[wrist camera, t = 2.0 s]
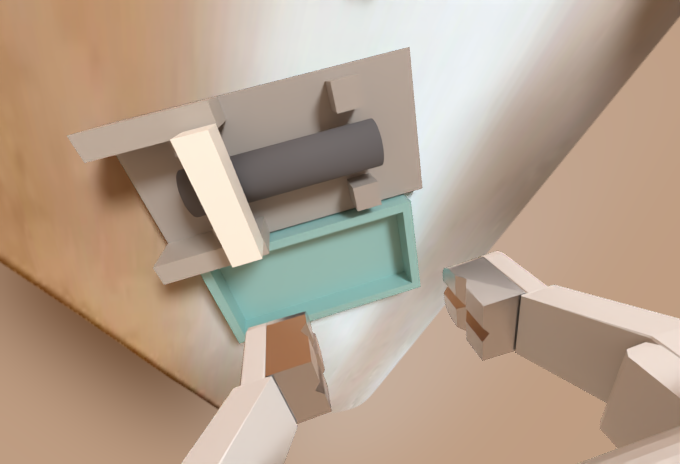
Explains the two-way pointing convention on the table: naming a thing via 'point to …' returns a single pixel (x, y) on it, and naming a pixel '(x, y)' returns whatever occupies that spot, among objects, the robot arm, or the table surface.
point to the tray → (322, 267)
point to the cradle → (260, 131)
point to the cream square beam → (220, 192)
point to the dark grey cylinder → (298, 163)
